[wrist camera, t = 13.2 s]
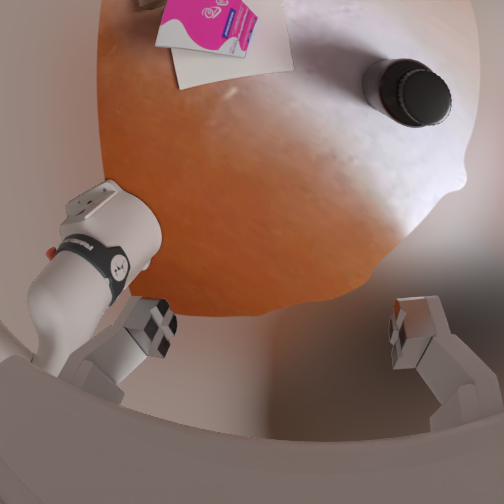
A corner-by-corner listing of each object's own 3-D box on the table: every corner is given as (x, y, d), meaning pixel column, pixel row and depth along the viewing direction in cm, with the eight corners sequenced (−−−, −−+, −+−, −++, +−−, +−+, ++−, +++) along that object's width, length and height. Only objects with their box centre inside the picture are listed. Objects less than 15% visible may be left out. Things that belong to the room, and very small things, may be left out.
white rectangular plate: (182, 89, 29) (179, 89, 29) (166, 10, 22) (163, 9, 22) (294, 70, 26) (294, 70, 25) (278, -17, 19) (277, -18, 18)
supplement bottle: (403, 122, 27) (444, 152, 17) (353, 99, 27) (376, 116, 17) (421, 76, 22) (471, 86, 13) (370, 50, 22) (402, 42, 13)
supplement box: (247, 59, 25) (215, 55, 17) (199, 50, 25) (149, 47, 16) (261, 16, 22) (235, -8, 13) (211, 8, 22) (166, -12, 13)
